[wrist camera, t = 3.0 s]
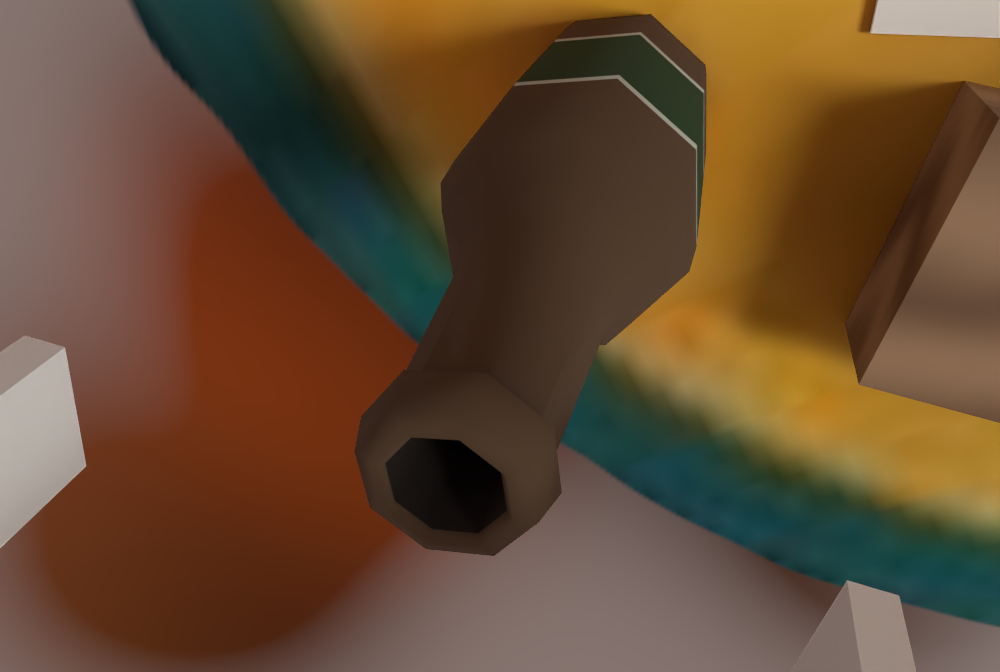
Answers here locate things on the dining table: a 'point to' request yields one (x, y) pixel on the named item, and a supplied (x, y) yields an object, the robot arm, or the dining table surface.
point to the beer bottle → (540, 279)
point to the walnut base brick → (941, 273)
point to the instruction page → (937, 18)
